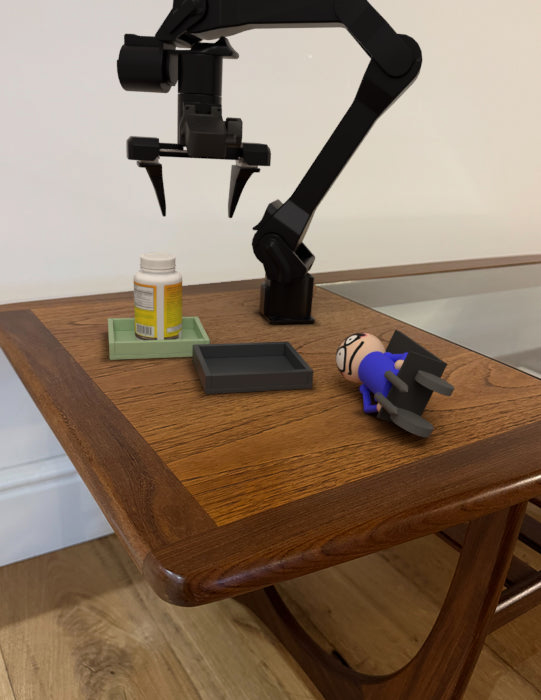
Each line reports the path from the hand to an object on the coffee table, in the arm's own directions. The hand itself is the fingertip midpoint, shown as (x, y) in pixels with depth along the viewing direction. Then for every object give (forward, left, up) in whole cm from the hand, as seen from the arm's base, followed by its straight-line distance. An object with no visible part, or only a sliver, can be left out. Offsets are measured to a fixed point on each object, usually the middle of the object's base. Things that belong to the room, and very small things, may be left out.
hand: (197, 216), depth 85 cm
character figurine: (-13, +37, -13) cm, 41 cm away
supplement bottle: (+7, +15, -13) cm, 21 cm away
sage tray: (+7, +15, -13) cm, 21 cm away
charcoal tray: (-2, +26, -13) cm, 29 cm away
